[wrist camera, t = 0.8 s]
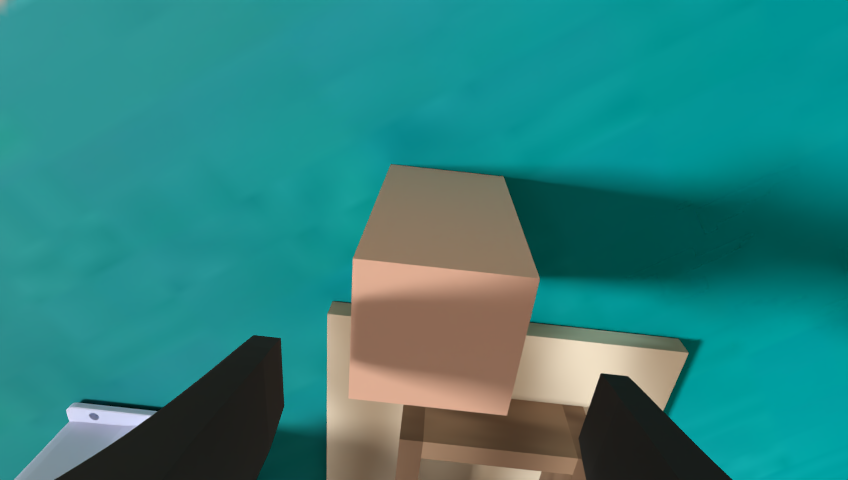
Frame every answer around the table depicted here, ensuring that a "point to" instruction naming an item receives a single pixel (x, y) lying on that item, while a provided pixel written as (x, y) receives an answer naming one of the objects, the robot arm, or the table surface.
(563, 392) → the socket board
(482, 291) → the square peg
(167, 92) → the table surface
